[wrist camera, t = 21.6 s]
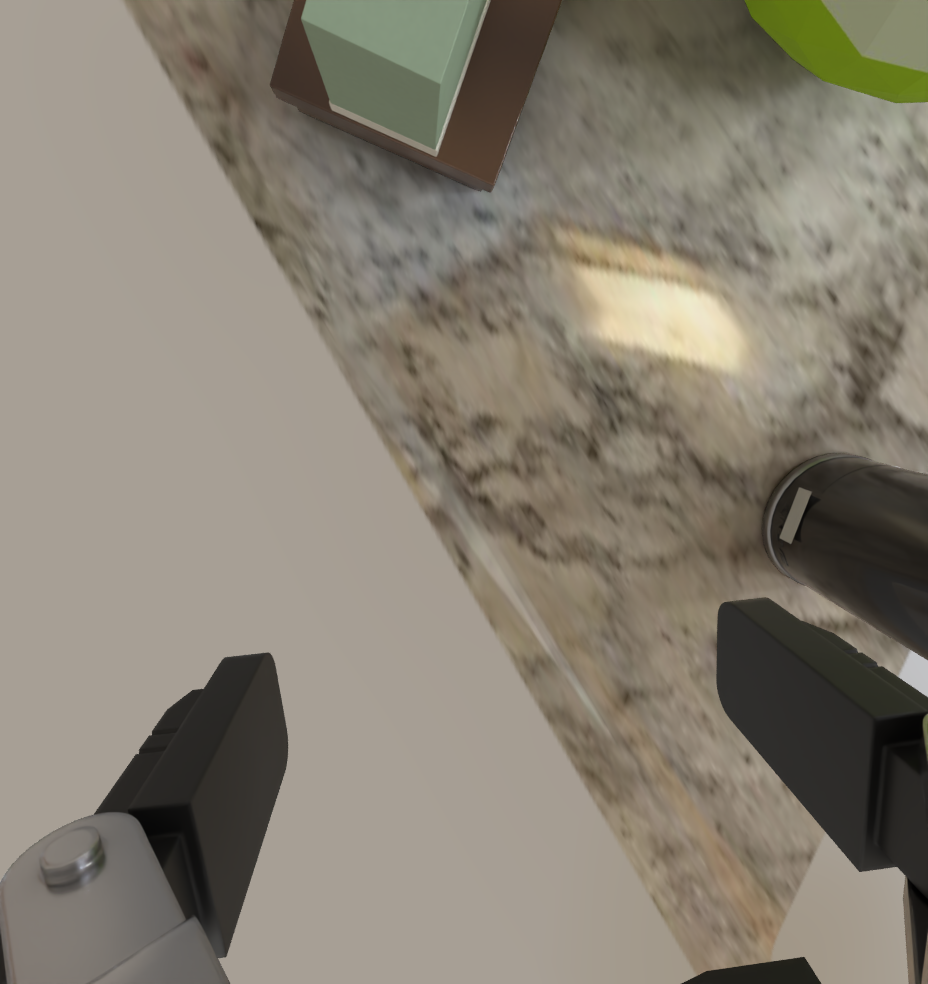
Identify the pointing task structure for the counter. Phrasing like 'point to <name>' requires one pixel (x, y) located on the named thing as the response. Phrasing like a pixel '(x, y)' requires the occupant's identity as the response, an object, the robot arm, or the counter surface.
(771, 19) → the melon
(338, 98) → the sage green stepped block
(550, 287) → the counter surface
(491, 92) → the shoe shelf
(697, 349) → the counter surface
